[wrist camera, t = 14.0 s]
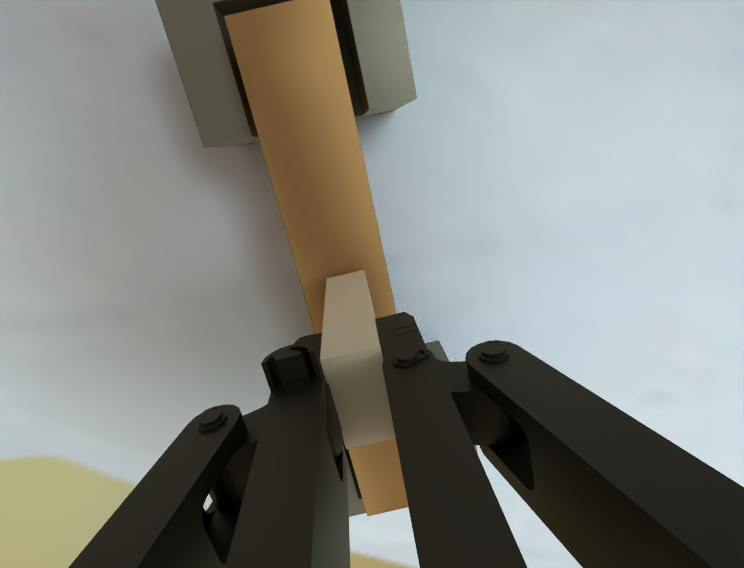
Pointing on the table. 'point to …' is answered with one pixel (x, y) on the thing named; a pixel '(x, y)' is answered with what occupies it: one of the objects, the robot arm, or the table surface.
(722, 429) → the table surface
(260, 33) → the slat
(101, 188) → the table surface
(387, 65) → the end caps
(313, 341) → the robot arm
